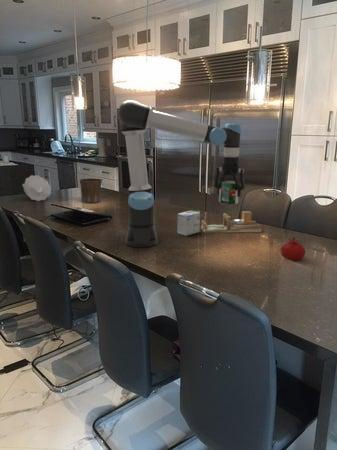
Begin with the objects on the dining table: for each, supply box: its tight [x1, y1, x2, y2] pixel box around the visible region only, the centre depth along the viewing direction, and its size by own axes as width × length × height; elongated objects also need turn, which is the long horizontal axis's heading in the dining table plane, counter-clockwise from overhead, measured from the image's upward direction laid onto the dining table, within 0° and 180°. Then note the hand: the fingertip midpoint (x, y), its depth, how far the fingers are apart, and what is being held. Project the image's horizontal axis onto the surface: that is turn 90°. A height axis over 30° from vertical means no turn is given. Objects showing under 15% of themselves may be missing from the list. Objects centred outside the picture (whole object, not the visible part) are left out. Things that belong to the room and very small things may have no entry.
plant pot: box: [78, 178, 103, 204], centre depth 268 cm, size 16×16×16 cm
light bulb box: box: [177, 210, 201, 236], centre depth 192 cm, size 11×7×11 cm, turn 135°
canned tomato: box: [220, 180, 237, 206], centre depth 185 cm, size 8×8×11 cm
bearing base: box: [201, 212, 262, 234], centre depth 199 cm, size 10×30×8 cm, turn 96°
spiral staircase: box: [21, 174, 52, 202], centre depth 276 cm, size 18×18×25 cm
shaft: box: [232, 210, 253, 225], centre depth 199 cm, size 4×9×8 cm, turn 96°
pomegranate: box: [280, 236, 306, 262], centre depth 156 cm, size 10×10×9 cm
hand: (228, 202), depth 187 cm, fingers closed on canned tomato, 8 cm apart
